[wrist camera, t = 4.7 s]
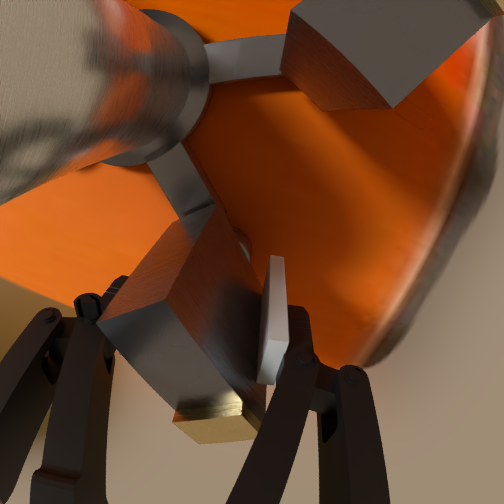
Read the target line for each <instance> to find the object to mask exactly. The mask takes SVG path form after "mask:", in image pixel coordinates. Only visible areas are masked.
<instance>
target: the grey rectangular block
mask: <svg viewBox="0 0 504 504" xmlns="http://www.w3.org/2000/svg"><path fill="white" fill-rule="evenodd" d="M500 15H504V0H303V1H301V2H300V3H299V4H297V5H296V6H295V7H294V8H292V9H291V11H290V16H289V22H288V27H287V32H286V37H285V43H284V48H283V53H282V59H281V64H280V69H279V71H280V72H281V73H282V74H284V75H285V76H286V77H287V78H288V79H289V80H290V81H291V82H293V83H294V84H295V85H296V86H297V87H298V88H299V89H300V90H301V91H302V92H303V93H304V94H306V95H307V96H308V97H309V98H310V99H311V100H312V101H313V102H314V103H315V104H316V105H317V106H318V107H319V108H320V109H321V110H322V111H333V110H352V109H393V108H394V107H395V106H396V105H398V104H399V103H400V102H401V101H402V100H403V99H404V98H405V97H406V96H407V95H408V94H409V93H410V92H412V91H413V90H414V89H415V88H416V87H417V86H418V85H419V84H420V83H421V82H422V81H423V80H425V79H426V78H427V77H428V76H429V75H430V74H431V73H432V72H433V71H434V70H435V69H437V68H438V67H439V66H440V65H441V64H442V63H443V62H444V61H445V60H446V59H447V58H449V57H450V56H451V55H452V54H453V53H454V52H455V51H456V50H457V49H458V48H459V47H461V46H462V45H463V44H464V43H465V42H466V41H467V40H468V39H469V38H470V37H472V36H473V35H474V34H475V33H476V32H477V31H478V30H479V29H480V28H482V27H483V26H484V25H485V24H486V23H487V22H488V21H489V20H490V19H492V18H493V17H496V16H500Z"/></svg>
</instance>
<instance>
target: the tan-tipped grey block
mask: <svg viewBox="0 0 504 504" xmlns="http://www.w3.org/2000/svg"><path fill="white" fill-rule="evenodd" d="M251 254H252V245H251V242H250V240H249V238H248V237H247V235H246V234H245V233H244V232H243V231H241V230H240V229H238V228H235V227H232V226H231V225H230V223H229V221H228V219H227V217H226V215H225V213H224V211H223V209H222V207H221V205H220V203H219V201H218V202H216V203H214V204H212V205H209V206H207V207H205V208H203V209H200V210H198V211H196V212H194V213H192V214H189V215H187V216H185V217H183V218H181V219H179V220H177V221H174V222H173V223H172V224H171V225H170V226H169V227H168V229H167V230H166V231H165V232H164V234H163V235H162V236H161V237H160V238H159V240H158V241H157V242H156V243H155V245H154V246H153V247H152V248H151V250H150V251H149V252H148V253H147V255H146V256H145V257H144V258H143V260H142V261H141V262H140V263H139V265H138V266H137V267H136V269H135V270H134V271H133V273H132V274H131V275H130V276H129V278H128V279H127V280H126V282H125V283H124V284H123V286H122V287H121V288H120V290H119V291H118V292H117V294H116V295H115V297H114V298H113V299H112V301H111V302H110V303H109V305H108V306H107V308H106V309H105V310H104V312H103V313H102V315H101V316H100V318H99V319H98V320H97V322H96V324H97V326H98V327H99V328H100V329H101V331H102V332H103V333H104V334H105V336H106V337H107V338H108V339H109V340H110V342H111V343H112V344H113V345H114V346H115V348H116V349H117V350H118V351H119V352H120V354H121V355H122V356H123V357H124V358H125V359H126V360H127V361H128V363H129V364H130V365H131V366H132V367H133V368H134V369H135V370H136V371H137V372H138V374H139V375H140V376H141V377H142V378H143V379H144V380H145V381H146V382H147V383H148V384H149V385H150V386H151V387H152V388H153V389H154V390H155V391H156V392H157V393H158V394H159V395H160V396H161V397H162V398H163V399H164V400H165V401H166V402H167V403H168V404H169V405H170V406H171V407H172V408H173V409H175V414H174V418H173V421H172V422H173V423H174V424H175V425H176V426H177V427H178V428H179V429H181V430H182V431H183V432H184V433H186V434H187V435H188V436H189V437H191V438H192V439H193V440H194V441H196V442H197V443H198V444H211V443H223V442H234V441H243V440H251V439H255V438H256V435H257V433H258V430H259V428H260V426H261V423H262V421H263V418H264V416H265V412H266V387H267V384H259V383H256V380H257V365H258V349H259V333H260V317H261V300H262V292H263V288H262V286H261V284H260V282H259V280H258V278H257V276H256V274H255V272H254V270H253V268H252V266H251V264H250V261H251Z"/></svg>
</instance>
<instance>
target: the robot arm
mask: <svg viewBox="0 0 504 504" xmlns="http://www.w3.org/2000/svg"><path fill="white" fill-rule="evenodd" d="M128 278H129V277H128V276H124V275H122V276H120V277H119V278H117V279H115V280H114V281H113V283H112V284H111V285H110V287H109V288H108V289H107V290H106V292H105V293H104V294H103V296H102V297H101V296H99V295H98V294H95V293H85V294H82V295H80V296H78V297H77V298H76V299H75V300H74V306H75V310H76V314H77V317H74V318H73V317H62V315H61V312H60V311H59V310H58V309H56V308H52V307H49V308H45V309H42V310H41V311H40V312H38V313H37V314H36V316H35V317H34V318H33V319H32V321H31V322H30V323H29V324H28V326H27V327H26V328H25V329H24V331H23V332H22V333H21V335H20V336H19V337H18V339H17V340H16V341H15V343H14V344H13V345H12V347H11V348H10V349H9V351H8V352H7V354H6V355H5V356H4V358H3V360H2V361H1V362H0V504H5V503H6V502H7V501H8V499H9V497H10V496H11V494H12V492H13V490H14V488H15V485H16V483H17V481H18V478H19V475H20V473H21V470H22V468H23V465H24V462H25V460H26V458H27V455H28V453H29V451H30V448H31V446H32V444H33V442H34V439H35V437H36V435H37V433H38V431H39V428H40V426H41V424H42V422H43V420H44V418H45V416H46V414H47V412H48V410H49V408H50V406H51V404H52V407H51V412H50V417H49V423H48V427H47V433H46V439H45V445H44V452H43V460H42V465H41V467H40V469H38V470H35V472H34V473H33V475H32V480H31V490H30V504H108V501H107V499H106V449H107V431H108V418H109V407H110V397H111V388H112V380H113V373H114V365H115V356H114V352H115V351H116V348H115V346H114V345H113V344H112V343H111V342H110V340H109V339H108V338H107V337H106V336H105V334H104V333H103V332H102V331H101V329H100V328H99V327H98V326H97V324H96V322H97V320H98V319H99V318H100V316H101V315H102V313H103V312H104V310H105V309H106V308H107V306H108V305H109V303H110V302H111V301H112V299H113V298H114V297H115V295H116V294H117V292H118V291H119V290H120V288H121V287H122V286H123V284H124V283H125V282H126V280H127V279H128ZM310 328H311V327H310V320H309V314H308V313H307V311H306V310H305V308H304V307H301V306H294V305H287V296H286V279H285V264H284V257H281V256H275V255H270V259H269V264H268V269H267V273H266V278H265V283H264V287H263V292H262V300H261V317H260V333H259V349H258V365H257V380H256V383H259V384H268V385H274V383H275V380H276V388H275V390H274V393H273V396H272V398H271V401H270V403H269V406H268V408H267V411H266V413H265V416H264V418H263V421H262V423H261V426H260V428H259V430H258V433H257V435H256V438H255V440H254V442H253V445H252V447H251V449H250V452H249V454H248V456H247V459H246V461H245V463H244V466H243V468H242V470H241V472H240V474H239V476H238V478H237V481H236V483H235V485H234V487H233V489H232V492H231V493H230V495H229V498H228V500H227V502H226V504H279V503H280V500H281V497H282V495H283V492H284V489H285V486H286V483H287V480H288V477H289V474H290V471H291V468H292V465H293V462H294V459H295V456H296V453H297V449H298V446H299V443H300V439H301V436H302V432H303V429H304V426H305V422H306V418H307V415H308V411H309V410H312V411H315V412H317V427H318V448H319V449H318V452H319V504H390V497H389V490H388V489H389V488H388V480H387V473H386V467H385V461H384V454H383V448H382V442H381V436H380V431H379V426H378V420H377V415H376V410H375V406H374V400H373V396H372V392H371V387H370V382H369V379H368V376H367V374H366V372H365V371H364V370H363V369H361V368H360V367H358V366H354V365H345V366H343V367H341V368H340V370H337V369H334V368H331V367H328V366H326V365H324V364H323V363H321V362H320V360H319V358H318V356H317V355H316V354H315V353H314V350H313V342H312V335H311V330H310ZM119 353H120V352H119ZM120 355H121V354H120ZM52 402H53V403H52Z"/></svg>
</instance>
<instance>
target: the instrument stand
mask: <svg viewBox="0 0 504 504" xmlns="http://www.w3.org/2000/svg"><path fill="white" fill-rule="evenodd" d="M285 37H286V34H277V35H266V36H256V37H248V38H240V39H233V40H227V41H221V42H215V43H210V44H205V42H204V41H203V39H202V38H201V36H200V35H199V34H198V33H197V32H196V31H195V30H194V29H193V28H192V27H191V26H190V25H189V24H188V23H187V22H185V21H184V20H183V19H181V18H179V17H177V16H176V15H174V14H171V13H168V12H165V11H160V10H152V9H143V10H138V9H136V8H135V7H133V6H132V5H130V4H128V3H127V2H125V1H124V0H0V206H1V205H3V204H5V203H7V202H9V201H10V200H12V199H14V198H16V197H18V196H20V195H22V194H24V193H26V192H28V191H30V190H32V189H35V188H37V187H39V186H41V185H43V184H45V183H47V182H50V181H52V180H54V179H57V178H59V177H61V176H63V175H66V174H68V173H71V172H73V171H76V170H78V169H81V168H83V167H86V166H88V165H91V164H93V163H96V162H99V161H100V162H103V163H105V164H109V165H113V166H135V165H140V164H144V163H147V164H148V166H149V168H150V169H151V171H152V173H153V174H154V176H155V178H156V180H157V181H158V183H159V185H160V186H161V188H162V190H163V192H164V193H165V195H166V197H167V198H168V200H169V202H170V203H171V205H172V207H173V208H174V210H175V212H176V213H177V215H178V217H179V218H180V219H181V218H183V217H185V216H187V215H189V214H192V213H194V212H196V211H198V210H200V209H203V208H205V207H207V206H209V205H212V204H214V203H216V202H218V201H219V203H220V205H221V207H222V209H223V211H224V213H225V215H226V213H227V211H226V210H225V208H224V206H223V204H222V202H221V201H220V199H219V197H218V195H217V194H216V192H215V190H214V188H213V186H212V185H211V183H210V181H209V179H208V178H207V176H206V174H205V172H204V170H203V169H202V167H201V165H200V163H199V162H198V160H197V158H196V156H195V155H194V153H193V151H192V149H191V147H190V146H189V144H188V142H187V140H186V139H187V138H188V137H189V136H190V135H191V134H192V133H193V131H194V130H195V129H196V127H197V126H198V125H199V123H200V121H201V120H202V118H203V116H204V115H205V112H206V110H207V108H208V105H209V102H210V99H211V95H212V90H213V86H216V85H222V84H228V83H235V82H242V81H250V80H258V79H268V78H279V77H286V76H285V75H284V74H282V73H281V72H280V71H279V69H280V64H281V59H282V53H283V48H284V43H285Z"/></svg>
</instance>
